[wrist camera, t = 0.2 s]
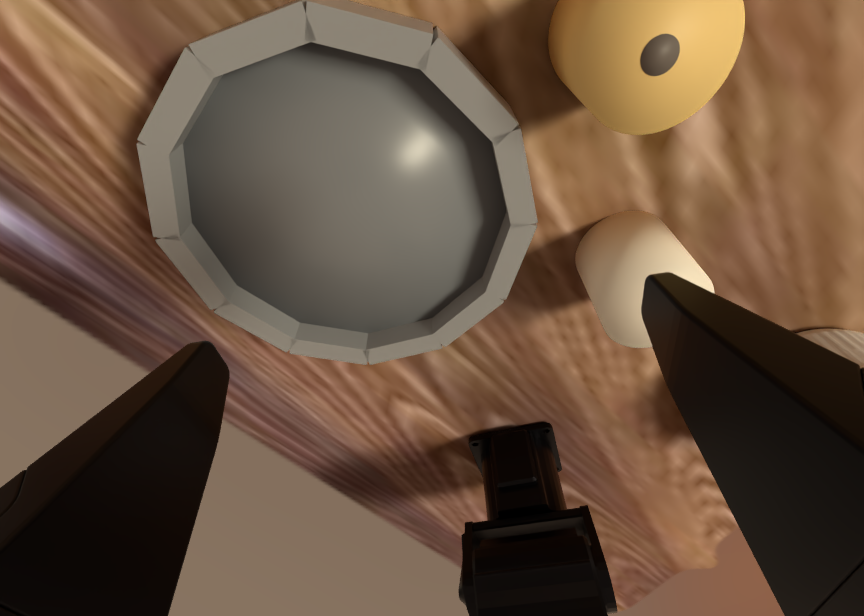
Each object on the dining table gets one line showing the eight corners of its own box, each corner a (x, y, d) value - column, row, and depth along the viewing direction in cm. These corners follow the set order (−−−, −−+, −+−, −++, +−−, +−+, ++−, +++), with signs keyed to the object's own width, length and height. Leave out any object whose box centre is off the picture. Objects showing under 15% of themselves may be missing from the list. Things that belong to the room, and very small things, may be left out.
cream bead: (667, 275, 26) (709, 335, 22) (579, 296, 27) (605, 357, 23) (670, 198, 23) (719, 252, 19) (570, 225, 24) (598, 281, 20)
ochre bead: (673, 74, 19) (735, 110, 16) (555, 111, 20) (586, 153, 16) (677, -71, 16) (755, -73, 13) (539, -21, 17) (572, -8, 13)
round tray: (545, 293, 27) (555, 322, 25) (282, 356, 30) (272, 387, 28) (478, -71, 16) (485, -71, 14) (82, 83, 19) (43, 101, 17)
